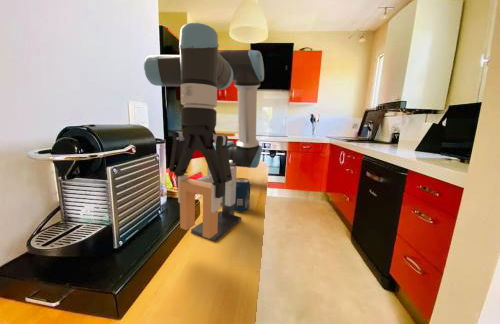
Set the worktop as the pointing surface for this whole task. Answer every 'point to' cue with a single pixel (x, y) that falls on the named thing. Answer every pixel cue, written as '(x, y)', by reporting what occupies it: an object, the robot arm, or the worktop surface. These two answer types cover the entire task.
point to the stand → (219, 215)
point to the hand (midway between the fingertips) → (198, 205)
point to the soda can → (242, 195)
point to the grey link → (229, 187)
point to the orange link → (188, 206)
